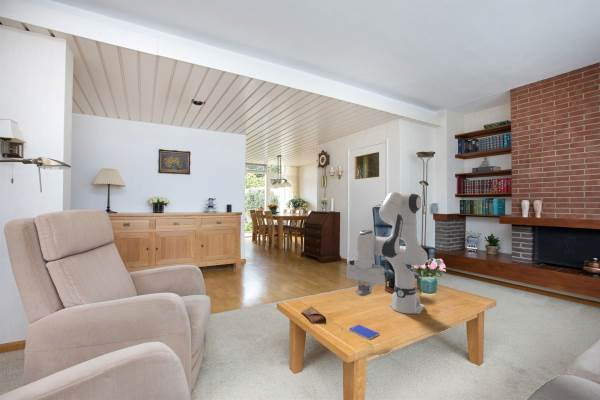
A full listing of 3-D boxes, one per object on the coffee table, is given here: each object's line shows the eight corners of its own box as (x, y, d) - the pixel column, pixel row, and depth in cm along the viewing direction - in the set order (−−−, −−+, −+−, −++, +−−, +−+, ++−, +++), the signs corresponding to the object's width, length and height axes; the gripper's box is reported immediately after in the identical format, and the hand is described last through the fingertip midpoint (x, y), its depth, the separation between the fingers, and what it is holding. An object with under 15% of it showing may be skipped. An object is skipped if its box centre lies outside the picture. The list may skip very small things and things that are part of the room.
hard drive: (349, 328, 145) (369, 337, 136) (359, 324, 150) (379, 332, 141) (349, 331, 145) (369, 340, 136) (359, 327, 150) (379, 335, 141)
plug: (366, 290, 148) (366, 283, 148) (373, 292, 145) (373, 284, 145) (353, 295, 139) (353, 287, 139) (360, 297, 137) (360, 289, 137)
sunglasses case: (299, 312, 168) (304, 301, 169) (308, 317, 170) (313, 306, 171) (312, 324, 151) (318, 312, 152) (322, 329, 153) (328, 318, 155)
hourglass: (407, 289, 218) (408, 256, 218) (407, 295, 203) (407, 260, 203) (385, 287, 223) (386, 255, 224) (383, 292, 208) (384, 258, 209)
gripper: (387, 265, 138) (387, 293, 138) (352, 259, 152) (351, 284, 152) (381, 267, 134) (380, 296, 133) (345, 260, 148) (344, 287, 148)
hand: (365, 290), depth 143 cm, fingers closed on plug, 4 cm apart
